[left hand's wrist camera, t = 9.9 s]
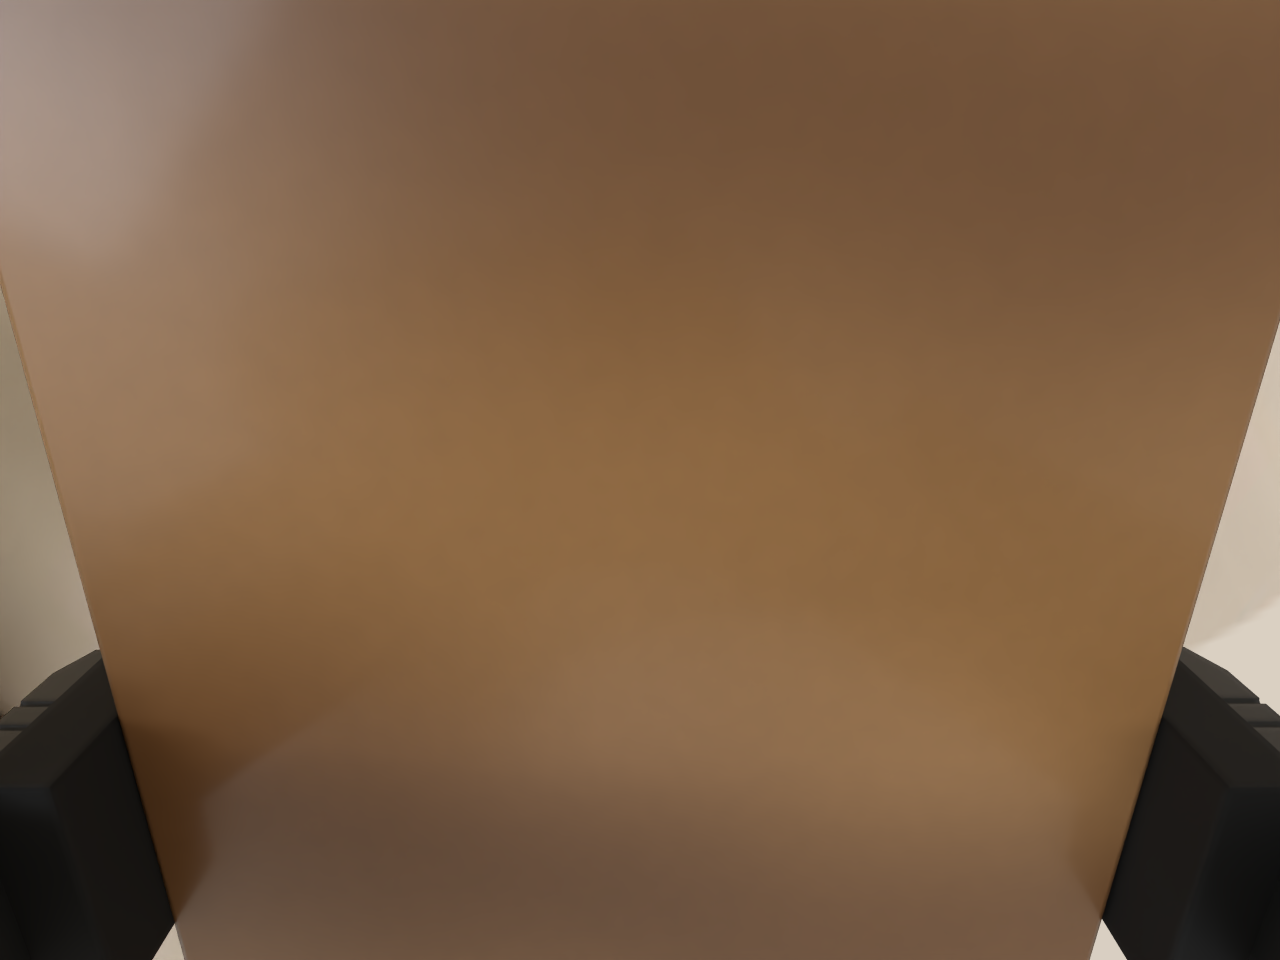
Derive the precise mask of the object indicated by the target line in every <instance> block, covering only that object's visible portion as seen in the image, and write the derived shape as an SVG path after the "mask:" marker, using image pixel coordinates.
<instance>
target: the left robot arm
mask: <svg viewBox="0 0 1280 960" xmlns="http://www.w3.org/2000/svg"><path fill="white" fill-rule="evenodd" d="M1102 919H1103V921H1104V923H1105V924H1106V926H1107V928H1108V929H1109V931H1110V932H1111V934H1112V936H1113V937H1114V939H1115V941H1116V942H1117V944H1118V946H1119V947H1120V949H1121V950H1122V952H1123V954H1124V955H1125V957H1126V959H1127V960H1280V716H1279V715H1278V714H1277V713H1276V712H1275V711H1274V710H1272V709H1271V708H1270V707H1269V706H1268V705H1267V704H1260V702H1259V697H1257V696H1256V695H1255V694H1254V693H1253V692H1252V691H1250V690H1249V689H1248V688H1247V687H1246V686H1245V685H1243V684H1242V683H1241V682H1240V681H1239V680H1238V679H1237V678H1235V677H1234V676H1233V675H1232V674H1231V673H1230V672H1228V671H1227V670H1225V669H1224V668H1222V667H1220V666H1218V665H1216V664H1214V663H1212V662H1211V661H1209V660H1207V659H1205V658H1203V657H1201V656H1200V655H1198V654H1196V653H1194V652H1192V651H1190V650H1189V649H1187V648H1185V647H1182V651H1181V654H1180V657H1179V661H1178V664H1177V667H1176V671H1175V674H1174V678H1173V681H1172V684H1171V688H1170V691H1169V694H1168V698H1167V701H1166V704H1165V708H1164V711H1163V715H1162V718H1161V721H1160V725H1159V728H1158V731H1157V735H1156V738H1155V741H1154V745H1153V748H1152V751H1151V755H1150V758H1149V762H1148V765H1147V768H1146V772H1145V775H1144V778H1143V782H1142V785H1141V788H1140V792H1139V795H1138V798H1137V802H1136V805H1135V809H1134V812H1133V815H1132V819H1131V822H1130V825H1129V829H1128V832H1127V835H1126V839H1125V842H1124V846H1123V849H1122V852H1121V856H1120V859H1119V862H1118V866H1117V869H1116V872H1115V876H1114V879H1113V882H1112V886H1111V889H1110V893H1109V896H1108V899H1107V903H1106V906H1105V909H1104V913H1103V916H1102ZM174 923H175V922H174V919H173V915H172V911H171V908H170V904H169V900H168V897H167V893H166V889H165V886H164V882H163V878H162V875H161V871H160V867H159V864H158V860H157V856H156V853H155V849H154V845H153V842H152V838H151V834H150V831H149V827H148V823H147V820H146V816H145V812H144V809H143V805H142V801H141V798H140V794H139V790H138V787H137V783H136V779H135V776H134V772H133V768H132V765H131V761H130V757H129V754H128V750H127V746H126V743H125V739H124V735H123V732H122V728H121V724H120V721H119V717H118V713H117V710H116V706H115V702H114V699H113V695H112V691H111V688H110V684H109V680H108V677H107V673H106V669H105V666H104V662H103V658H102V655H101V651H100V650H95V651H93V652H91V653H89V654H88V655H86V656H84V657H82V658H80V659H78V660H77V661H75V662H73V663H71V664H69V665H68V666H66V667H64V668H62V669H60V670H58V671H57V672H55V673H53V674H52V675H51V676H49V677H48V678H47V679H46V680H45V681H44V682H42V683H41V684H40V685H39V686H38V687H37V688H36V689H34V690H33V691H32V692H31V693H30V694H29V695H28V696H26V697H25V698H24V699H23V700H22V701H21V705H20V707H14V708H13V709H12V710H10V711H9V712H8V713H7V714H6V715H5V716H3V717H2V718H1V719H0V960H152V959H153V958H154V956H155V954H156V953H157V951H158V950H159V948H160V946H161V945H162V943H163V941H164V940H165V938H166V936H167V935H168V933H169V932H170V930H171V928H172V927H173V925H174Z"/></svg>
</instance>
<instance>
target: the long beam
mask: <svg viewBox="0 0 1280 960" xmlns="http://www.w3.org/2000/svg"><path fill="white" fill-rule="evenodd" d="M0 284H1V288H2V292H3V295H4V299H5V303H6V306H7V310H8V314H9V317H10V321H11V325H12V328H13V332H14V336H15V339H16V343H17V347H18V350H19V354H20V358H21V361H22V365H23V369H24V372H25V376H26V380H27V383H28V387H29V391H30V394H31V398H32V402H33V405H34V409H35V413H36V416H37V420H38V424H39V427H40V431H41V435H42V438H43V442H44V446H45V449H46V453H47V457H48V460H49V464H50V468H51V471H52V475H53V479H54V482H55V486H56V490H57V493H58V497H59V501H60V504H61V508H62V512H63V515H64V519H65V523H66V526H67V530H68V534H69V537H70V541H71V545H72V548H73V552H74V556H75V559H76V563H77V567H78V570H79V574H80V578H81V581H82V585H83V589H84V592H85V596H86V600H87V603H88V607H89V611H90V614H91V618H92V622H93V625H94V629H95V633H96V636H97V640H98V644H99V647H100V651H101V655H102V658H103V662H104V666H105V669H106V673H107V677H108V680H109V684H110V688H111V691H112V695H113V699H114V702H115V706H116V710H117V713H118V717H119V721H120V724H121V728H122V732H123V735H124V739H125V743H126V746H127V750H128V754H129V757H130V761H131V765H132V768H133V772H134V776H135V779H136V783H137V787H138V790H139V794H140V798H141V801H142V805H143V809H144V812H145V816H146V820H147V823H148V827H149V831H150V834H151V838H152V842H153V845H154V849H155V853H156V856H157V860H158V864H159V867H160V871H161V875H162V878H163V882H164V886H165V889H166V893H167V897H168V900H169V904H170V908H171V911H172V915H173V919H174V922H175V926H176V930H177V933H178V937H179V941H180V944H181V948H182V952H183V955H184V959H185V960H1090V956H1091V953H1092V950H1093V946H1094V943H1095V940H1096V936H1097V933H1098V929H1099V926H1100V923H1101V919H1102V916H1103V913H1104V909H1105V906H1106V903H1107V899H1108V896H1109V893H1110V889H1111V886H1112V882H1113V879H1114V876H1115V872H1116V869H1117V866H1118V862H1119V859H1120V856H1121V852H1122V849H1123V846H1124V842H1125V839H1126V835H1127V832H1128V829H1129V825H1130V822H1131V819H1132V815H1133V812H1134V809H1135V805H1136V802H1137V798H1138V795H1139V792H1140V788H1141V785H1142V782H1143V778H1144V775H1145V772H1146V768H1147V765H1148V762H1149V758H1150V755H1151V751H1152V748H1153V745H1154V741H1155V738H1156V735H1157V731H1158V728H1159V725H1160V721H1161V718H1162V715H1163V711H1164V708H1165V704H1166V701H1167V698H1168V694H1169V691H1170V688H1171V684H1172V681H1173V678H1174V674H1175V671H1176V667H1177V664H1178V661H1179V657H1180V654H1181V651H1182V647H1183V644H1184V641H1185V637H1186V634H1187V631H1188V627H1189V624H1190V620H1191V617H1192V614H1193V610H1194V607H1195V604H1196V600H1197V597H1198V594H1199V590H1200V587H1201V583H1202V580H1203V577H1204V573H1205V570H1206V567H1207V563H1208V560H1209V557H1210V553H1211V550H1212V547H1213V543H1214V540H1215V536H1216V533H1217V530H1218V526H1219V523H1220V520H1221V516H1222V513H1223V510H1224V506H1225V503H1226V500H1227V496H1228V493H1229V489H1230V486H1231V483H1232V479H1233V476H1234V473H1235V469H1236V466H1237V463H1238V459H1239V456H1240V452H1241V449H1242V446H1243V442H1244V439H1245V436H1246V432H1247V429H1248V426H1249V422H1250V419H1251V416H1252V412H1253V409H1254V405H1255V402H1256V399H1257V395H1258V392H1259V389H1260V385H1261V382H1262V379H1263V375H1264V372H1265V369H1266V365H1267V362H1268V358H1269V355H1270V352H1271V348H1272V345H1273V342H1274V338H1275V335H1276V332H1277V328H1278V325H1279V321H1280V0H0Z"/></svg>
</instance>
